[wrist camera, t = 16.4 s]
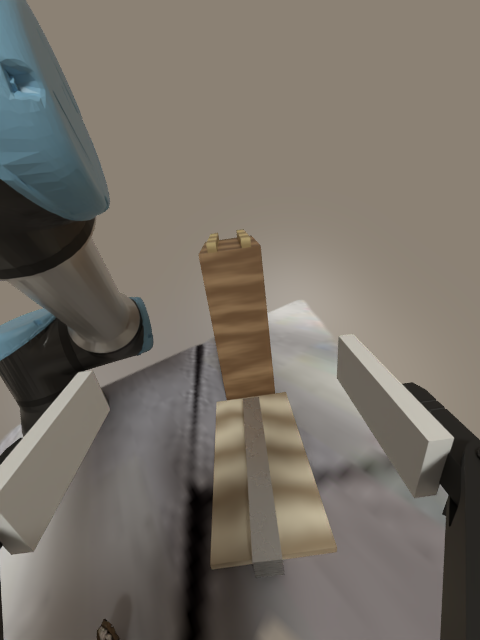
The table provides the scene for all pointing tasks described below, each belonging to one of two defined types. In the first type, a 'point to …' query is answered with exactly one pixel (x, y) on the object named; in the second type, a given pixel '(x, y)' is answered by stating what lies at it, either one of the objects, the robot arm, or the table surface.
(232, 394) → the wooden rectangular column
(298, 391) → the table surface
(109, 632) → the figurine
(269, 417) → the board
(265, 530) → the block
